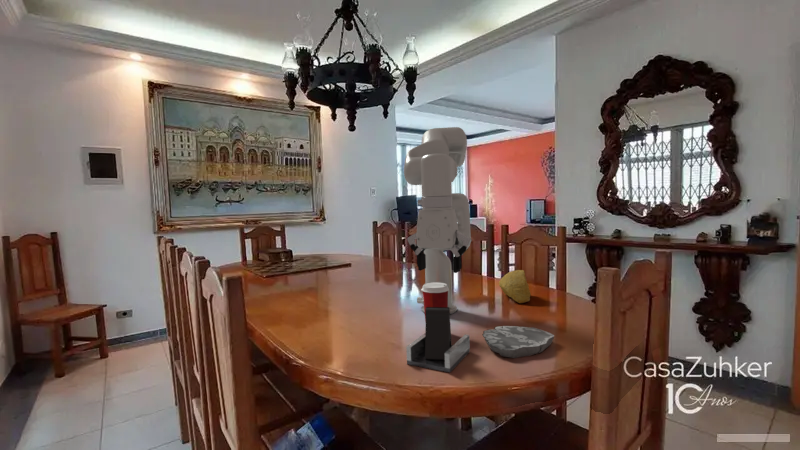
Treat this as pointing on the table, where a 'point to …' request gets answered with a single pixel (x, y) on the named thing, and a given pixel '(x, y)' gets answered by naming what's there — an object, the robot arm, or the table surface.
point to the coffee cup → (435, 295)
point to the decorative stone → (516, 286)
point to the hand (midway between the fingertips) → (439, 270)
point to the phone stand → (437, 332)
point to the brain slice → (517, 340)
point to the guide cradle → (451, 360)
